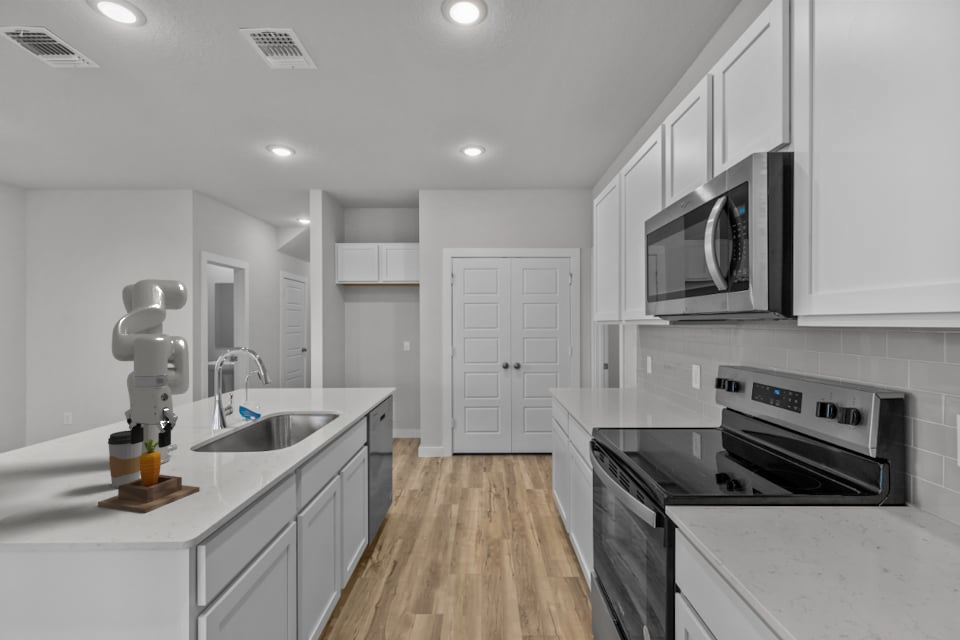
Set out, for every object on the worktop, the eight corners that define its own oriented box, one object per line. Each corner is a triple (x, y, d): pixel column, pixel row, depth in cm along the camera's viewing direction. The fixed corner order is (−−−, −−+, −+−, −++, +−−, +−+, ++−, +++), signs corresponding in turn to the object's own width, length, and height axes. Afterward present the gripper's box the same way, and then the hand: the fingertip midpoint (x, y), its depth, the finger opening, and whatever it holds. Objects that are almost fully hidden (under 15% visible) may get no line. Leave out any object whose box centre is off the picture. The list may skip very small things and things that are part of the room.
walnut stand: (155, 485, 138) (155, 469, 138) (199, 490, 133) (199, 474, 133) (97, 506, 122) (97, 488, 122) (145, 513, 118) (145, 495, 118)
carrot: (145, 491, 130) (145, 436, 130) (165, 490, 131) (165, 436, 131) (135, 498, 125) (135, 441, 125) (155, 497, 126) (155, 440, 126)
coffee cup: (150, 481, 141) (150, 431, 141) (120, 491, 133) (120, 437, 133) (130, 478, 144) (130, 428, 144) (100, 487, 136) (100, 435, 136)
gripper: (188, 381, 129) (188, 444, 129) (140, 378, 134) (140, 438, 134) (162, 385, 122) (162, 451, 122) (112, 381, 127) (112, 445, 127)
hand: (150, 444), depth 128 cm, fingers open, 9 cm apart
